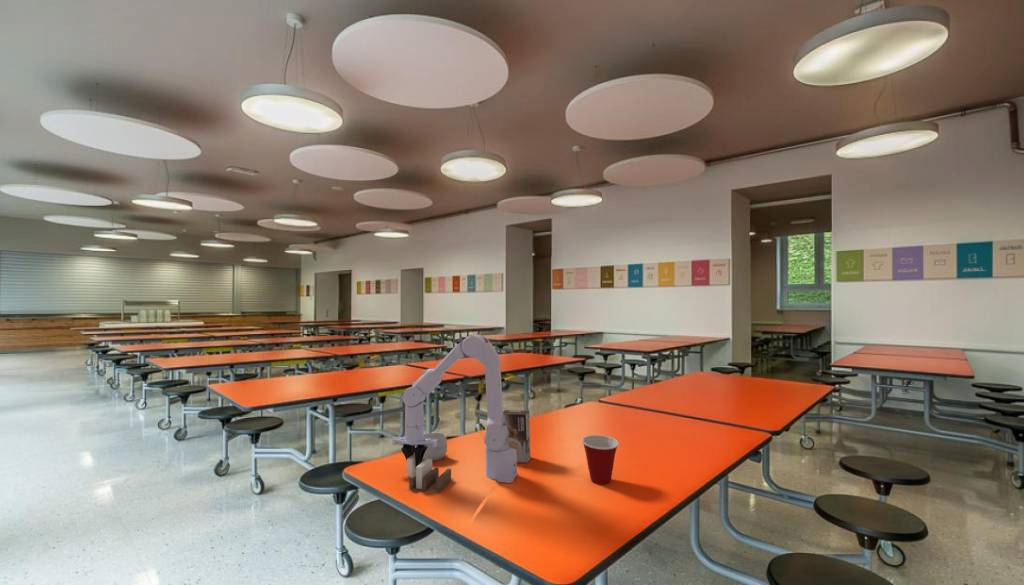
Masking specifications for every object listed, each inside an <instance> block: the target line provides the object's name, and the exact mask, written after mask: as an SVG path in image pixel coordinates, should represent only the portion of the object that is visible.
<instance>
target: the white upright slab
mask: <svg viewBox="0 0 1024 585" xmlns="http://www.w3.org/2000/svg"><path fill="white" fill-rule="evenodd" d="M415 473H416V459H415V453H414V454H413V455H412V456H410V457H409V458H407V460H406V477H409V478H410V477H411V476H412V475H413V474H415Z"/></svg>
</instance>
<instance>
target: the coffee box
mask: <svg viewBox="0 0 1024 585" xmlns="http://www.w3.org/2000/svg"><path fill="white" fill-rule="evenodd" d="M503 415H504V417H505V423H506V426H507V427H508V430H509V434H508V437H507V439H506V441H507V443H508V445H509V447H510V448H514V449H516V452H517V463H523V464H525V463H529V461H530V459H531V458H532V457H531V434H530V433H531V430H530V428H531V427H530V426H531V425H530V410H522V409H521V410H519V409H518V410H516V409H513V410H512V409H503Z"/></svg>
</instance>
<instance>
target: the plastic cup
mask: <svg viewBox="0 0 1024 585" xmlns="http://www.w3.org/2000/svg"><path fill="white" fill-rule="evenodd" d="M581 442H582V445H583V447H584V452H585V455H586V462H587V467H588V472H589V476H590V481H591V483H593V484H596V485H597V484H598V485H608V484H611V481H612V476H613V470H614V464H615V463H614V462H615V458H616V457H615V456H616V452H617V448H618V446H620V445H619V444H620V442H619V440H617V439H616V438H614V437H611V436H607V435H602V434H591V435H585V436H584V437H583V438H581Z"/></svg>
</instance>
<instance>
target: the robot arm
mask: <svg viewBox="0 0 1024 585" xmlns="http://www.w3.org/2000/svg"><path fill="white" fill-rule="evenodd" d="M466 357H470V358H471V359H476V360H477V362H480V363H481V364H482V365H483V366H484V376H485V395H486V411H487V413H486V414H487V419H486V420H487V421H486V432H485V434H484V438H483V443H484V445H485V446H484V447H485V448H484V450H485V451H484V452H485V454H484V455H485V456H484V457H485V477H486V478H487V479H491V480H496V482H497V483H508V484H511V483H512V484H513V482H514V480H515V478H516V477H517V475H518V473H519V472H518V462H517V452H516V449H514V448H510V447H509V445H508V443H507V441H506V439H507V437H508V434H509V430H508V427H507V426H506V423H505V417H504V415H503V411H504V406H503V404H504V403H503V402H504V401H503V391H502V390H503V388H502V387H503V386H502V385H503V384H502V372H501V370H502V368H501V357H500V355H499V354H498V352H497V351H496V350H495V348H494V347H493V344H492V343H491V341H490V339H488V338H486V337H485V336H483V335H482V334H473V335H469V336H466V337H465V338H464V339H463V340H462V341H460V342H459V343H458V344H456V345H455V346H454V347H453V348H452V349H451V350H450V351H449V352H448V353H447V355H445V357H443V359H442V360H441V361H439V363H438V364H437V365H436V366H435V367H434V368H428V369H425V370H423V371H422V372H421V374H422V375H421V376H420V377H419V378H418V379H416V380H415V381H413V382H412V383H411V386H410V387H408V388H405V390H404V392H403V394H402V398H401V399H402V402H403V403H404V404H405V405H404V406H405V407H404V408H405V409H404V410H405V411H404V413H405V414H404V416H405V418H404V425H405V426H404V427H405V428H404V429H405V430H404V431H405V433H404V434H405V435H404V436H400V437H399V436H395V437H393V438H392V439H391V440H392V441H391V446H392V445H393V446H396V445H399V446H401V445H402V447H401V449H400V450H401V452H402V454H403V456H404V458H405V460H406V461H407V458H409V457H410V456H412V455H413V454H415V459H416V467H417V466H418V465H419V464H420V463H422V462H423V461H424V460H423V456H424V454H425V451H426V449H427V447H428V446H430V447H436V446H437V439H430V438H425V437H424V434H425V424H424V423H425V422H424V421H425V419H424V418H425V417H424V416H425V414H424V413H425V410H424V401H425V400H426V399H427V396H429V394H431V393H432V391H434V390H435V388H436V387H438V386H439V384H441V382H442V379H443V378H442V377H443V375H444V374H445V373H446V372H447V371H448V370H449V369H450V368H452V367H453V365H455V364H456V363H457V362H458V361H459V360H460V359H462V358H463V359H464V358H466ZM416 446H417V447H416Z"/></svg>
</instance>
